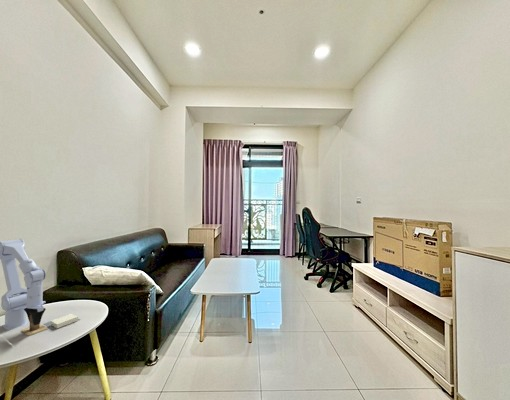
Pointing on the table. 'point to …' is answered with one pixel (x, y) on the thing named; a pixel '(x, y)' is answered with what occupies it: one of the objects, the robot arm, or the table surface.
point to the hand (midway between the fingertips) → (34, 322)
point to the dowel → (32, 326)
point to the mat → (53, 326)
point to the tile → (64, 320)
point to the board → (29, 333)
